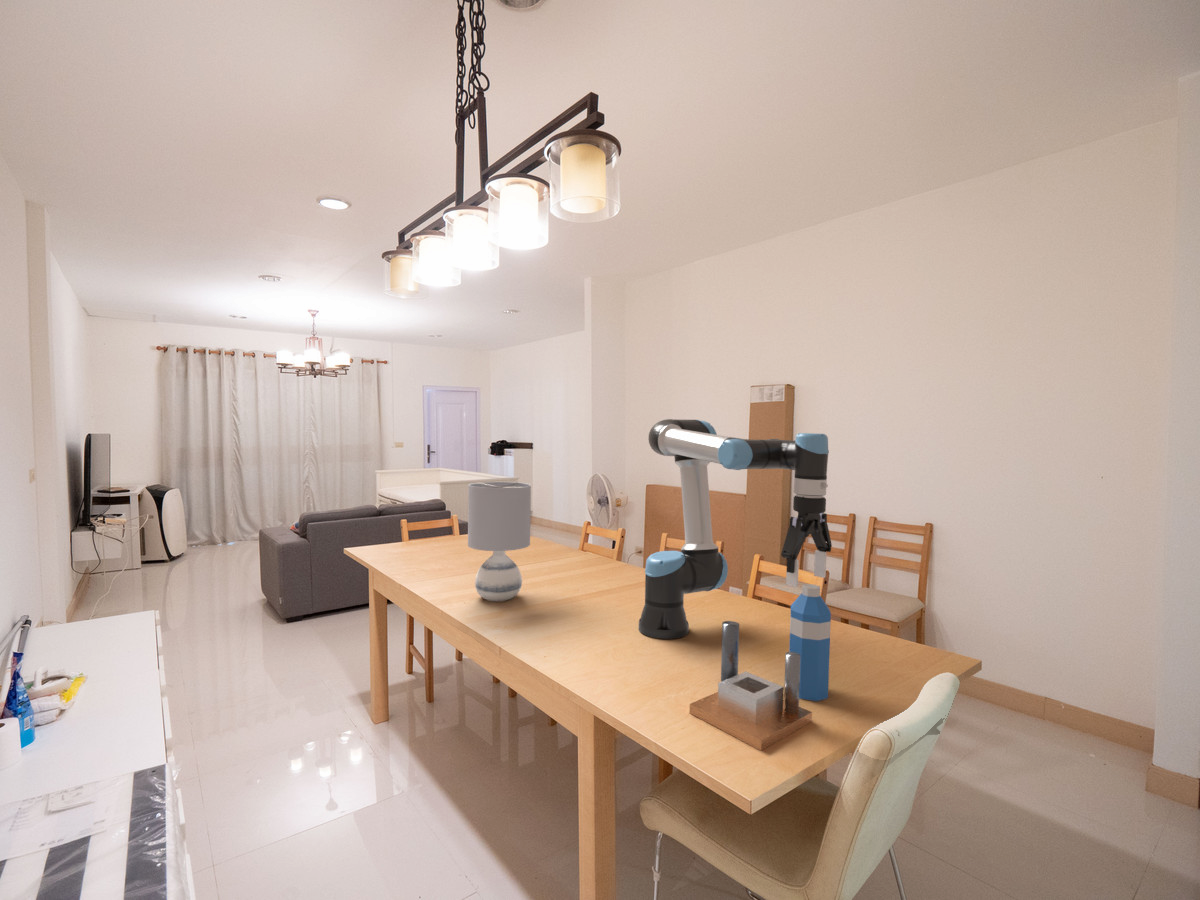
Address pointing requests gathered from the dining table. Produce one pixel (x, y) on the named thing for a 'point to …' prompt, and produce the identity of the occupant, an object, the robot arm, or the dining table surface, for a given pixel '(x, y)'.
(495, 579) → the lamp
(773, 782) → the dining table surface
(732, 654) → the square metal peg
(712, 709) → the peg insertion fixture
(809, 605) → the water bottle
